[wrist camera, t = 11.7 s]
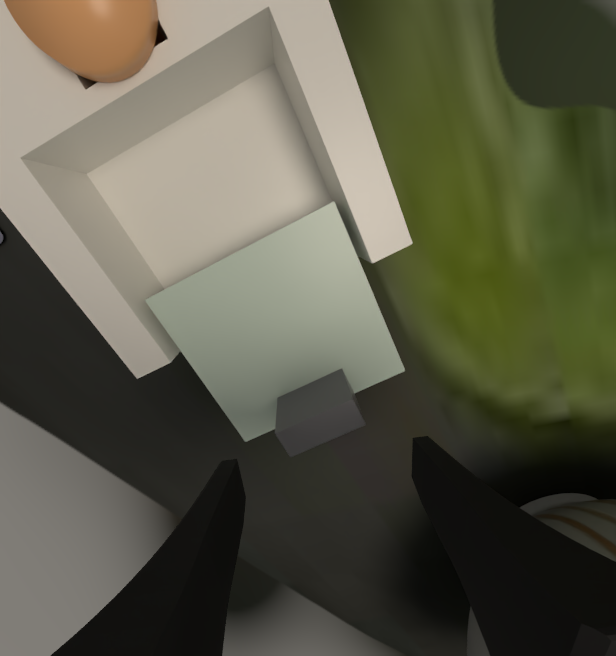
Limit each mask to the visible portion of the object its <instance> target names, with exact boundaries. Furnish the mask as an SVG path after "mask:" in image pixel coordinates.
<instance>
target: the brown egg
mask: <svg viewBox="0 0 616 656" xmlns="http://www.w3.org/2000/svg"><path fill="white" fill-rule="evenodd" d="M4 2H5V4H6V6H7V8H8V10H9V12H10V13H11V15H12V17H13V18H14V20H15V21H16V23H17V24H18V26H19V27H20V28H21V30H22V31H23V32H24V33H25V34H26V36H27V37H28V38H29V39H30V40H31V41H32V42H33V43H34V44H35V45H36V46H37V47H38V48H40V49H41V50H42V51H43V52H45V53H46V54H47V55H49V56H50V57H52V58H53V59H55V60H56V61H58V62H59V63H60V64H62V65H63V66H65V67H66V68H68V69H69V70H71V71H72V72H74V73H76V74H77V75H80V76H82V77H84V78H86V79H89V80H93V81H98V82H117V81H121V80H124V79H126V78H128V77H130V76H132V75H133V74H135V73H136V72H138V71H139V70H140V69H141V68H142V67H143V65H144V64H145V63H146V61H147V60H148V58H149V56H150V54H151V52H152V50H153V48H154V47H155V46H157V45H158V44H160V43H162V42H163V41H165V38H164V36H163V35H162V34H161V32H160V31H159V29H158V10H157V3H156V0H4Z"/></svg>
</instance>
